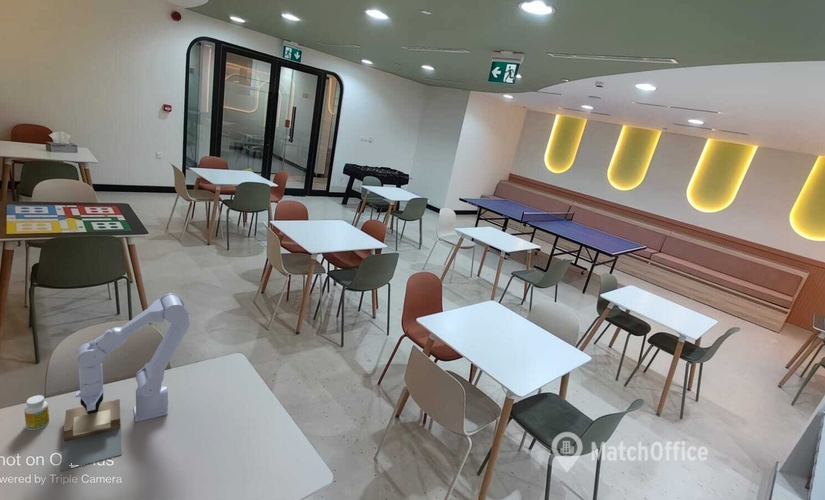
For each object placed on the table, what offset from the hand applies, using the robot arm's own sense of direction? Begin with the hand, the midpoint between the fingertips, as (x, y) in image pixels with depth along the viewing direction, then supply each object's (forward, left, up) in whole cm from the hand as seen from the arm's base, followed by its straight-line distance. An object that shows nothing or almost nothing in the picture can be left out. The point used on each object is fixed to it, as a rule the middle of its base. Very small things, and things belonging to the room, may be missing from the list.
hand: (93, 414), depth 127 cm
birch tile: (0, +4, -1) cm, 4 cm away
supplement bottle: (+14, -7, -5) cm, 16 cm away
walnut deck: (0, -1, -5) cm, 5 cm away
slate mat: (0, +10, -5) cm, 11 cm away
